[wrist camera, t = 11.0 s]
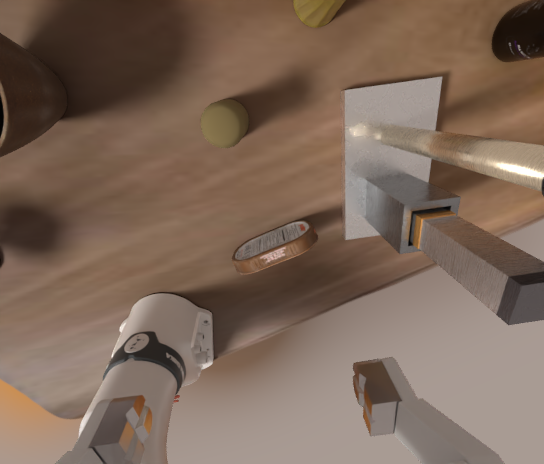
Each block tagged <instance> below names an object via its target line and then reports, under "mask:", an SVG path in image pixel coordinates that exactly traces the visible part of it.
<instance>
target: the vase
mask: <svg viewBox="0 0 544 464" xmlns="http://www.w3.org/2000/svg"><path fill="white" fill-rule="evenodd" d="M345 1H346V0H293V2H294V8H295V12H296V14H297V16H298V17H299V19H300V20H301V21H302V22H303V23H304V24H306V25H307V26H310V27H315V28H317V27H321V26H324V25H326V24H327V23H329V22H330V21H331V20H332V19H333V17H334V16H335V14H336V12H337V11H338V10H339V9H340V7H341V6H342V4H343V3H344V2H345Z"/></svg>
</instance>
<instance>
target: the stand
mask: <svg viewBox="0 0 544 464" xmlns="http://www.w3.org/2000/svg"><path fill="white" fill-rule="evenodd" d="M441 84H442V77H436V78H428V79H421V80H414V81H407V82H400V83H392V84H385V85H378V86H371V87H364V88H356V89H349V90H342V91H340V94H341V177H342V236H343V237H344V238H345V240H349V239H356V238H363V237H370V236H377V235H381V236H382V237H383V238H384V239H385V240H386V241H387V242H388V243H389V244H390V245H391V246H392V247H393V248H394V249H395V250H396V251H397V252H398V253H399V254H403V253H410V252H416V251H421V250H420V249H417V248H416V247H415V246H414V245H413V243H412V242H411V241H410V240H409V231H410V222H411V213H412V211H417V210H424V209H431V208H438V207H442V208H444V209H446V210H450V211H452V212H454V213H456V215H457V213H458V208H459V203H460V198H461V197H460V196H458V195H455V194H453V193H451V192H448V191H446V190H444V189H442V188H439V187H437V186H435V185H432V184H430V183H428V182H429V174H430V167H431V159H434V160H437V161H441V162H444V163H447V164H451V165H454V166H458V167H461V168H464V169H468V170H471V171H474V172H478V173H481V174H484V175H488V176H491V177H495V178H498V179H501V180H505V181H508V182H511V183H515V184H518V185H521V186H525V187H528V188H531V189H535V190H538V191H542V194H543V196H544V146H543V145H535V144H528V143H521V142H514V141H506V140H499V139H492V138H485V137H478V136H470V135H463V134H456V133H449V132H442V131H435V129H436V121H437V114H438V106H439V99H440V91H441Z"/></svg>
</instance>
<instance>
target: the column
mask: <svg viewBox="0 0 544 464" xmlns="http://www.w3.org/2000/svg"><path fill="white" fill-rule="evenodd" d="M409 240H410V241H411V242H412V243H413V245H414V246H415V247H416V248H417V249H420V250H421V251H422V252H424V253H425V254H426V255H427V256H428V257H429V258H431V259H432V260H433V261H434V262H435V263H436V264H438V265H439V266H440V267H441V268H442V269H444V270H445V271H446V272H447V273H448V274H449V275H451V276H452V277H453V278H454V279H455V280H456V281H458V282H459V283H460V284H461V285H462V286H463V287H465V288H466V289H467V290H468V291H469V292H470V293H472V294H473V295H474V296H475V297H476V298H477V299H479V300H480V301H481V302H482V303H483V304H485V305H486V306H487V307H488V308H489V309H490V310H492V311H493V312H494V313H495V314H496V315H497V316H498V317H500V318H501V319H502V320H503V321H505V322H506V323H507V324H508V325H512V324H519V323H525V322H532V321H538V320H544V262H543V261H541V260H539V259H537V258H535V257H533V256H532V255H530V254H528V253H526V252H524V251H522V250H520V249H518V248H517V247H515V246H513V245H511V244H509V243H507V242H506V241H504V240H502V239H500V238H498V237H496V236H494V235H492V234H491V233H489V232H487V231H485V230H483V229H481V228H479V227H478V226H476V225H474V224H472V223H470V222H468V221H466V220H465V219H463V218H461V217H459V216H457V215H456V213H454V212H452V211H450V210H446V209H444V208H442V207H438V208H431V209H424V210H417V211H412V213H411V222H410V231H409Z"/></svg>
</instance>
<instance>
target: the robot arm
mask: <svg viewBox="0 0 544 464" xmlns="http://www.w3.org/2000/svg"><path fill="white" fill-rule="evenodd" d="M205 320H207V321H205ZM120 332H121V334H120V337H119V339H118V341H117V344H116V346H115V348H114V351H113V353H112V359H111V361H109V363H108V365H107V367H106V371H105V373H104V376H103V382H102V384H101V386H100V388H99V390H98V392H97V393H96V395H95V397H94V399H93V401H92V403H91V405H90V406H89V408H88V410H87V412H86V414H85V416H84V418H83V419H82V422H81V425H80V430H79V438H78V440H77V442H76V444H75V446H74V448H73V450H72V451H68V452H67V453H66V454H65V455H64V456H63V457H62V458H61V459H60V460H58V462H56V463H55V464H168V461H167V453H166V452H167V451H166V443H167V433H168V427H169V421H170V416H171V411H172V407H173V403H174V402H178V400H174V399H176V398H179V397H180V396H179V395H177V396H175V395H176V394H177V393H178V391H179V389H180V388H181V387H182V386H185V385H188V384H191V383H193V382H194V381H196V380H197V379H198V378H199V376H200V372H201V370H202V369H205V368H207V367H208V366H210V365H211V364H212V363H213V360H214V352H213V321H212V313H211V312H210V311H208V310H205V309H202V308H199V307H197V306H195V305H194V304H193V303H191V302H190V301H188V300H187V299H185V298H182V297H180V296H177V295H173V294H165V293H160V294H153V295H149V296H146V297H144V298H142V299H140V300H139V301H138V302H137V303H136V304H135V305H134V306H133V308H132V310H131V313H130V315H129V317H128V318H127V319H126V320H125V321H124V322H123V323H122V324H121V326H120ZM353 371H354V373H355V375H354V376H353V385H354V391H355V394H356V398H357V400H358V403H359V405H361V406H362V407H363V417H364V420H365V423H366V426H367V428H368V431H369V434H370V436H377V435H385V434H393V433H394V435H395V436H396V437H397V438H398V439H399V440H400V441H401V442H402V443H403V444H404V446H405V447H406V448H407V449H408V450H409V451H410V452H411V453H412V454H413V455H414V456H415V457H416V458H417V459H418V460H419V461H420V462H421V463H422V464H504V462H503V461H502V459H501V458H500V457H499V455H498V454H496V453H495V452H494V451H493V450H491V449H490V448H489V447H487V446H486V445H485V444H483V443H482V442H481V441H479V440H478V439H476V438H475V437H474V436H472V435H471V434H469V433H468V432H467V431H466V430H464V429H463V428H462V427H460V426H459V425H457V424H456V423H454V422H453V421H452V420H451V419H449V418H448V417H447V416H445V415H444V414H443V413H441V412H440V411H438V410H437V409H436V408H434V407H433V406H431V405H430V404H429V403H428V402H426V401H425V400H423V399H418V398H417V396H416V395H415V393H414V391H413V390H412V388H411V386H410V384H409V382H408V381H407V379H406V377H405V376H404V374H403V372H402V370H401V368H400V367H399V365H398V363H397V362H396V360H395V359H394V358H393V357H389V358H384V359H374V360H368V361H362V362H356V363H354V364H353Z"/></svg>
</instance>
